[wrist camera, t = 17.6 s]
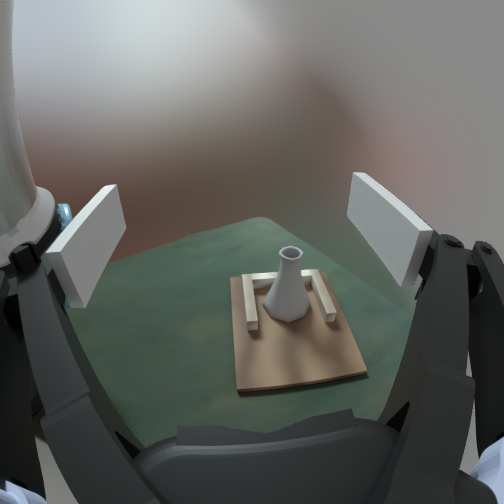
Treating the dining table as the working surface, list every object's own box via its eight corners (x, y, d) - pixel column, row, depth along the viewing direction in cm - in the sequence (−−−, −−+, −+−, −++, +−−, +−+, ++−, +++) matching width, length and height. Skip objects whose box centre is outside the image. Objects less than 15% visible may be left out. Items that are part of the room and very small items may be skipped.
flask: (318, 305, 43) (328, 252, 37) (288, 330, 39) (295, 276, 33) (284, 284, 47) (288, 233, 42) (253, 305, 43) (253, 252, 37)
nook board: (237, 392, 31) (236, 381, 30) (230, 280, 49) (229, 267, 48) (365, 373, 32) (371, 362, 31) (323, 273, 51) (325, 261, 49)
